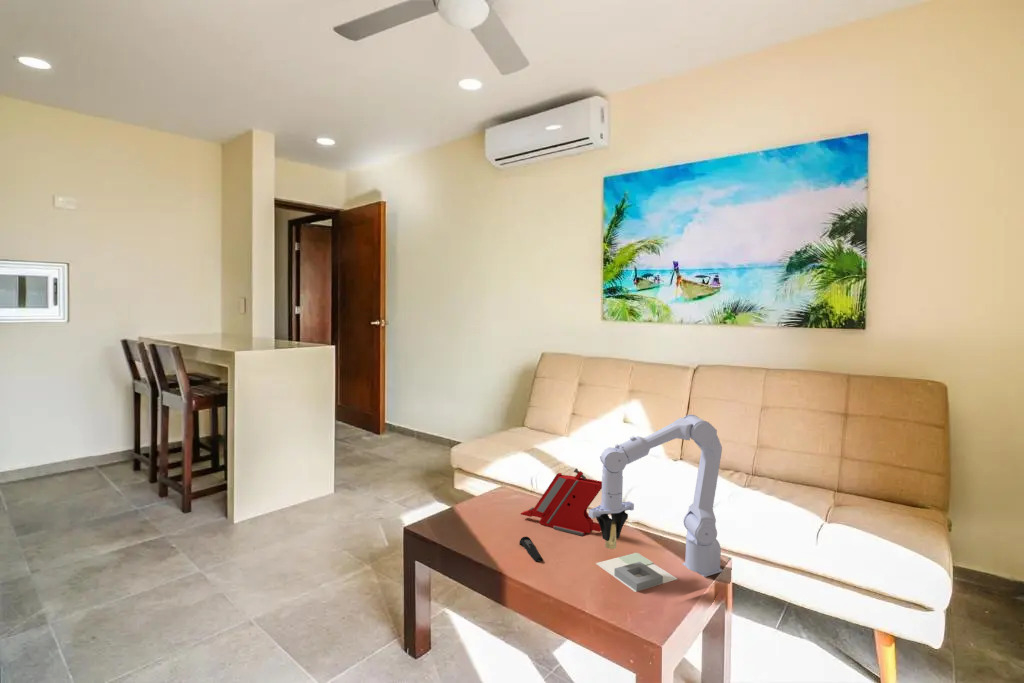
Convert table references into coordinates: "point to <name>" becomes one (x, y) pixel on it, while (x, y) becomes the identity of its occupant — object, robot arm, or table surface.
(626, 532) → the table surface
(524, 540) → the electric trimmer
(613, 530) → the brass cylinder
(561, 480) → the tool
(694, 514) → the robot arm
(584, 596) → the table surface
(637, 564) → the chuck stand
